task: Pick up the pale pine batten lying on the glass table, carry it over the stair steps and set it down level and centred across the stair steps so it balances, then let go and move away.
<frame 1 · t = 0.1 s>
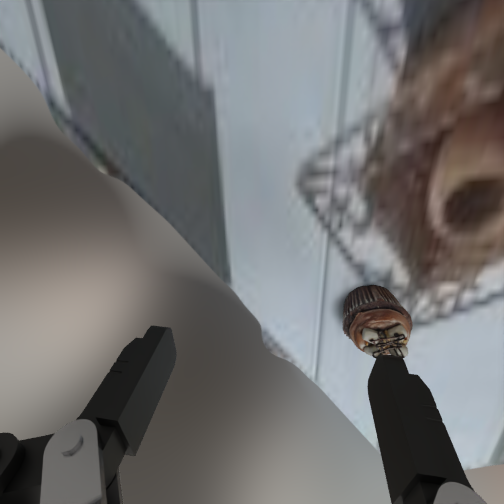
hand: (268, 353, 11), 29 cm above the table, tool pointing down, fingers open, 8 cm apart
cupcake: (369, 302, 46), on the table
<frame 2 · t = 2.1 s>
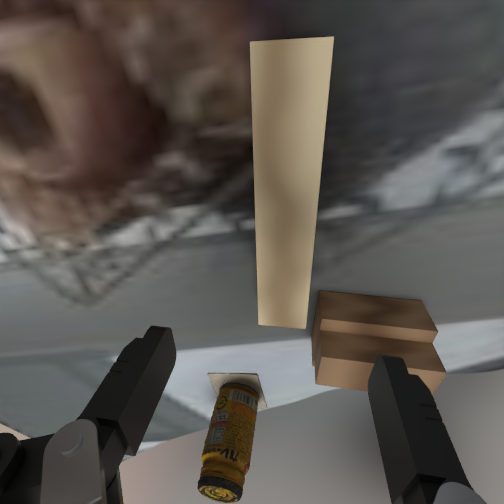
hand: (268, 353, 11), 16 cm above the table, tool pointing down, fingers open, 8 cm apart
stair steps: (361, 320, 30), on the table
batten: (287, 200, 24), on the table
condiment: (238, 389, 41), on the table
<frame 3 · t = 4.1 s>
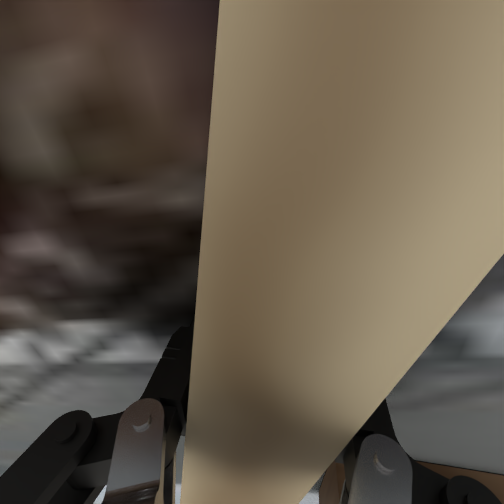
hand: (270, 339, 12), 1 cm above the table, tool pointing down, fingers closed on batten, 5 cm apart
stair steps: (405, 486, 18), on the table
batten: (271, 328, 12), on the table, touching gripper
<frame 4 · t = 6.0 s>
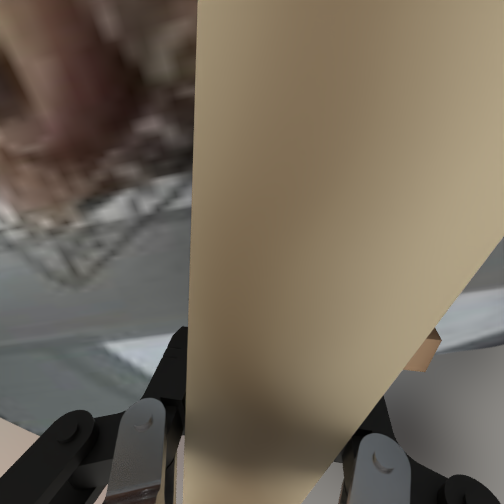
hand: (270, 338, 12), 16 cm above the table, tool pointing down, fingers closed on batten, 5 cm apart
stair steps: (354, 294, 29), on the table
batten: (271, 328, 12), point 15 cm above the table, touching gripper
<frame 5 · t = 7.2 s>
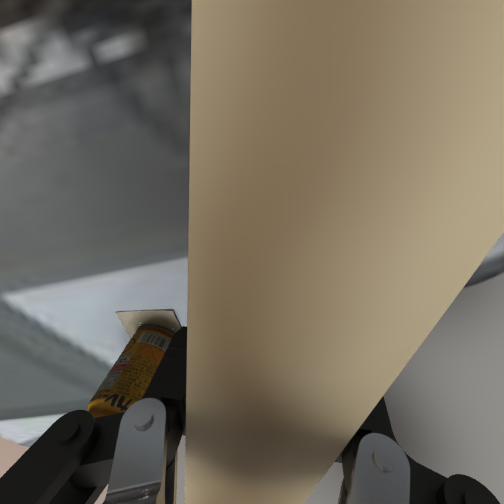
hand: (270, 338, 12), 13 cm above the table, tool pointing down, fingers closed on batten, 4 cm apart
batten: (271, 329, 12), point 12 cm above the table, touching gripper
condiment: (158, 334, 33), on the table
when the fingers open (8 cm above the table, at t = 8.3 s): batten stays where it is, resting on stair steps.
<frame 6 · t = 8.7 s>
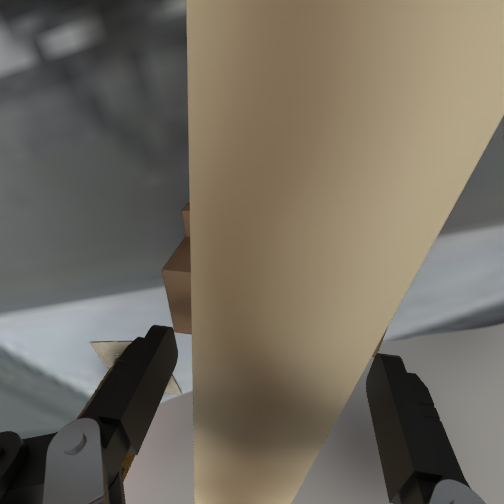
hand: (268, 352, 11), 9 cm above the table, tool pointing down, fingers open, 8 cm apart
stair steps: (281, 239, 19), on the table
batten: (272, 314, 13), point 7 cm above the table, touching stair steps
condiment: (139, 366, 30), on the table
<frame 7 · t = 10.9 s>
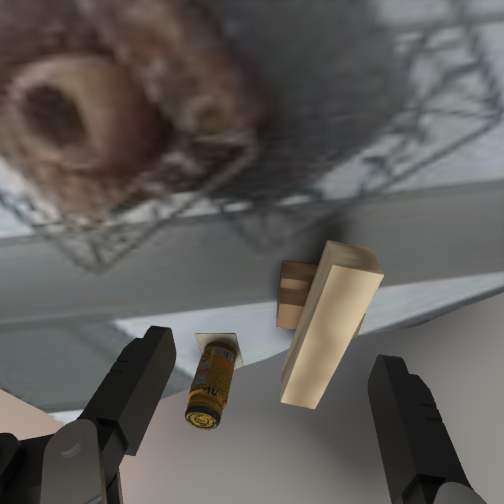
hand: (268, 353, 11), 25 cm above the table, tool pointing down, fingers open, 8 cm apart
stair steps: (314, 285, 40), on the table
batten: (318, 320, 34), point 7 cm above the table, touching stair steps
condiment: (220, 348, 50), on the table
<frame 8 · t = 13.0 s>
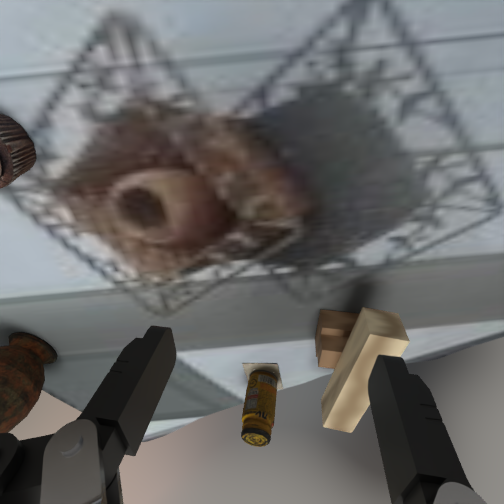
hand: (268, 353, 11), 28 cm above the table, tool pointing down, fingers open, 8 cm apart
stair steps: (347, 327, 47), on the table
pitcher: (26, 342, 65), on the table
cupcake: (10, 143, 39), on the table
batten: (353, 362, 42), point 7 cm above the table, touching stair steps
condiment: (263, 374, 58), on the table
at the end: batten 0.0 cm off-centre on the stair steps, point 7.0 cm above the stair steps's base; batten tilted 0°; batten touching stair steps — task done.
